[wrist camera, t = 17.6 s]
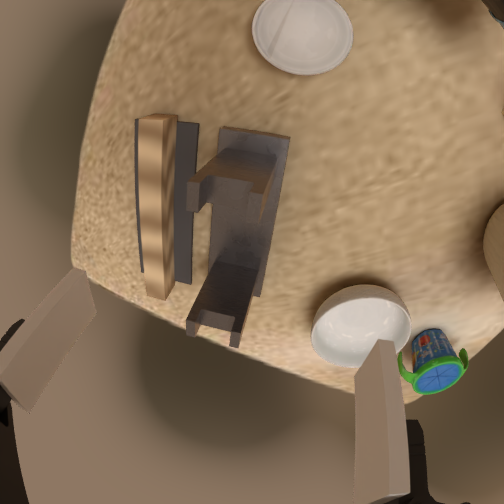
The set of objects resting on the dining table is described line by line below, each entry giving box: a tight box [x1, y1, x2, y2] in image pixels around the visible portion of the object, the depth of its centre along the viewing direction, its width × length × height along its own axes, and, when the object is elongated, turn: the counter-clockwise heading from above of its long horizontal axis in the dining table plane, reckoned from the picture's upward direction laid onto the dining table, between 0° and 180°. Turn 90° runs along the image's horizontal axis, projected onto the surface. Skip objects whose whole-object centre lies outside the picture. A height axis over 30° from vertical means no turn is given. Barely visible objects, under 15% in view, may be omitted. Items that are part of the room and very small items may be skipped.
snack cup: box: [397, 329, 468, 394], centre depth 48 cm, size 16×10×10 cm
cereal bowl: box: [311, 284, 412, 368], centre depth 48 cm, size 17×17×7 cm
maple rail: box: [138, 114, 177, 301], centre depth 44 cm, size 30×4×4 cm, turn 172°
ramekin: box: [252, 0, 353, 76], centre depth 28 cm, size 11×11×5 cm
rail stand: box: [186, 126, 290, 348], centre depth 39 cm, size 26×9×16 cm, turn 172°
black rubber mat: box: [135, 119, 199, 285], centre depth 46 cm, size 28×10×1 cm, turn 172°
